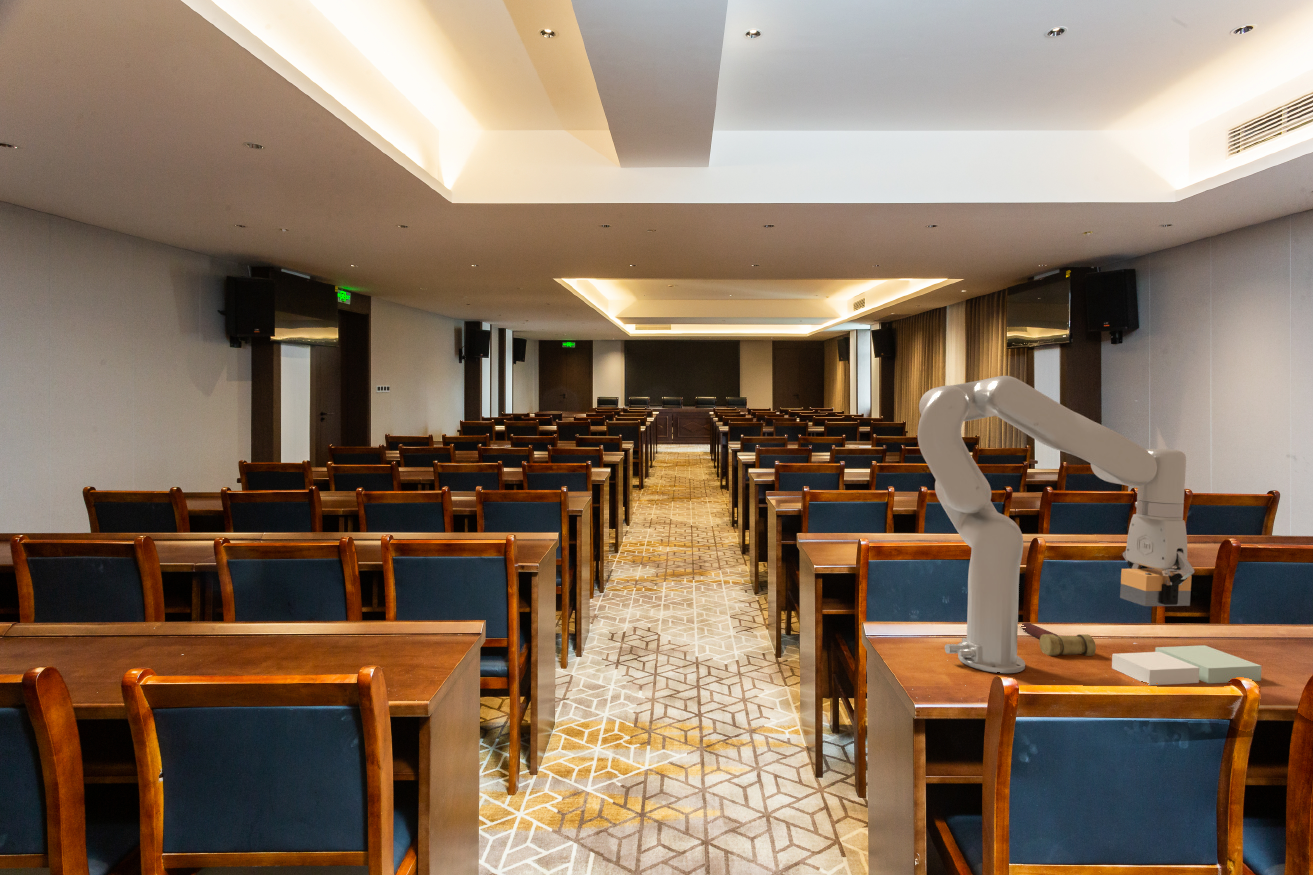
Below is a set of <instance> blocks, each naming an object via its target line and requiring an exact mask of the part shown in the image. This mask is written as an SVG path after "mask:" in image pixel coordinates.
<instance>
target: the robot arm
mask: <svg viewBox="0 0 1313 875" xmlns="http://www.w3.org/2000/svg"><path fill="white" fill-rule="evenodd" d="M918 409H919V410H918V411H919V413H920V418H919V420H918V421H919V422H918V426H917V442H918V447H919V450H920V453H921V456H922V458H923V459H924V461H925V462H926V465H927V467H928V468H929V470H930V472H931V474H932V476H933V477H934V479H935V482H934V491H935V494H936V497H937V499H938V501H939V503H940V504H941V506H942V508H943V510H944V511H945V513H946V515H947V516H948V518H949V519H950V522H951V523H952V524H953V526H954V529H955V530H956V531H957V533H958V534H959V536H960V537H961V539H962V541H963V542H964V543H965V544H966V545H967V546H969V548H971V550H970V551H971V552H970V553H971V554H970V560H969V564H968V576H967V577H968V578H967V614H966V615H967V617H966V618H967V619H966V620H967V622H966V625H967V626H966V637H962V638H961V642H959V643H957V644H955V643H947V644H945V645H944V651H945V653H946V654H948V655H949V654H950V655H951V654H957V655H958V656H957V657H958V660H959V661H960V662H961V663H962V664H964V665H966V666H968V667H971V668H973V669H976V670H980V671H984V672H990V673H996V674H998V673H997V672H1000V673H999V674H1016V673H1019V672H1022V671H1024V670H1025V669H1026V661H1025V660H1024V659H1023V658H1021V657H1020V656H1019V655H1018V627H1019V594H1020V593H1019V592H1020V591H1019V590H1020V589H1019V588H1020V587H1019V586H1020V585H1019V584H1020V571H1021V570H1020V568H1021V564H1022V563H1021V562H1022V559H1023V558H1022V557H1023V551H1024V536H1023V533H1022V531H1021V528H1020V526H1019V525H1018V524H1017V523H1016V522H1015V521H1014V520H1013V519H1011V518H1010V517H1009V516H1008V515H1005V514H1002V513H1000V512H998V511H997V509H996V508H995V506H994V504H993V502H992V501H991V499H992V488H991V485H990V483H989V482H988V481H989V480H987V478H986V476H985V475H984V474H983V472H982V471H981V469H980V467H979V466H978V464H977V463H976V461H975V460H974V458H973V457H972V455H971V454H970V451H969V448H968V447H967V446H966V443H965V441H964V440H963V435H962V428H963V427H962V426H963V424H964V422H968V421H969V422H970V421H975V420H981V419H985V418H992V417H997V418H999V419H1001V420H1003V421H1004V422H1005V423H1007V424H1009V425H1011V426H1012V427H1015V428H1016V429H1017V430H1019V431H1021V432H1023V433H1024V434H1026V435H1028V436H1029V437H1031V439H1034V440H1035V441H1037V442H1038V443H1040V444H1042V445H1044V446H1046V447H1049V448H1051V449H1053V450H1056V451H1060V452H1064V453H1066V454H1070V455H1072V456H1075V457H1077V458H1080V459H1082V460H1083V461H1086V462H1088V463H1090V468H1091V470H1092V472H1093V473H1094V476H1096V477H1097V478H1098V479H1100V480H1103V481H1104V482H1108V483H1111V484H1117V485H1124V486H1128V487H1137V494H1136V495H1137V496H1136V502H1135V503H1134V506H1135V508H1136V513H1134V514H1132V517H1131V520H1130V524H1129V526H1128V527H1129V528H1128V533H1127V538H1126V539H1127V540H1126V548H1125V550H1124V551H1123V552H1122V557H1123V558H1124V560H1125V562H1126V564H1127V566H1128V569H1158V570H1162V573H1163V577H1164V581H1165V584H1162V594H1161V603H1162V604H1164V605H1177V604H1178V591H1179V585H1182V583H1183V581H1185V580H1186V579H1187V577H1189V576H1190V575H1191V576H1192V575H1193V574H1194V573H1195V568H1194V567H1193V566H1192V565H1191V563H1190V561H1189V560H1188V535H1187V526H1186V522H1185V520H1183V519H1184V504H1185V501H1184V500H1185V489H1186V488H1185V484H1186V471H1187V470H1186V468H1187V456H1186V454H1185V452H1183V451H1182V450H1178V449H1167V448H1166V449H1165V448H1164V449H1163V448H1147V449H1145V448H1144V447H1142V446H1141V445H1139V444H1137V443H1135V441H1132V440H1131V439H1129V438H1127V437H1125V436H1124V435H1123V434H1121V433H1118V432H1117V431H1114V430H1112V429H1111V428H1109V427H1107V426H1105V425H1103V424H1100V423H1098V422H1095V421H1094V420H1092V419H1089V418H1088V417H1086V416H1084V415H1082V414H1080V413H1078V412H1076V411H1074V410H1071V409H1070V408H1068V407H1066V406H1064V405H1063V404H1061V403H1059V402H1058V401H1056V400H1054V399H1052V398H1051V397H1049V396H1047V395H1045V394H1044V393H1043V392H1041V391H1039V390H1037V389H1036V388H1033V386H1031V385H1029V384H1027V383H1025V382H1024V381H1022V380H1021V379H1019V378H1016V377H1014V376H1010V375H999V376H994V377H988V378H985V379H981V380H975V381H969V382H964V383H959V384H958V383H957V384H952V385H942V386H937V387H933V388H930V389H929V390H928V391H926V392H925V393H923V395H922V396H921V398H920V401H919V404H918ZM1170 572H1172V574H1173V576H1172V577H1171V575H1170Z"/></svg>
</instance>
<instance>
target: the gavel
mask: <svg viewBox="0 0 1313 875" xmlns="http://www.w3.org/2000/svg"><path fill="white" fill-rule="evenodd" d="M1019 624H1022V625H1024V626H1021V627H1026V628H1023V630H1025V631H1026V632H1027V633H1026V632H1025V633H1026V634H1028V635H1029V636H1032V637H1034V638H1036V639H1039V642H1038V643H1039V648H1040V650H1041V652H1042V653H1043V654H1045V655H1046V656H1052V657H1053V656H1059V655H1061V656H1062V655H1070V656H1071V655H1082V656H1085V657H1088V656H1089V657H1093V656H1094V655H1095V654H1096V651H1097V650H1096V649H1097V644H1096V642H1095V639H1094V638H1093V637H1092V636H1091V635H1090V634H1086V633H1085V634H1083V633H1082V634H1076V635H1058V633H1057V634H1056V633H1053V632H1052V631H1049V630H1047V629H1044V628H1042V627H1041V626H1040V627H1039V626H1037V625H1035V624H1033V623H1031V622H1019ZM1021 627H1020V628H1021ZM1023 630H1022V631H1023Z"/></svg>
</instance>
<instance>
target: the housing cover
mask: <svg viewBox="0 0 1313 875" xmlns="http://www.w3.org/2000/svg"><path fill="white" fill-rule="evenodd" d="M1170 575H1171V577H1172V576H1173V574H1172V572H1170ZM1192 577H1193V576H1192V575H1190V576H1189V577H1187V579H1186V580H1185V581H1183V583H1182V585H1179V591H1192ZM1121 584H1125V585H1128V586H1131V587H1134V588H1138V589H1141V590H1144V591H1162V584H1165V581H1164V577H1163V573H1162V570H1158V569H1154V568H1149V569H1130V568H1121V574H1120V585H1121Z"/></svg>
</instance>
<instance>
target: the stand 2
mask: <svg viewBox="0 0 1313 875" xmlns="http://www.w3.org/2000/svg"><path fill="white" fill-rule="evenodd" d="M1154 652H1161V653H1164V654H1166V655H1169V656H1171V657H1174V658H1176V659H1179V660H1181V661H1184V662H1186V663H1189V664H1191V665H1194V666H1196V667H1199V681H1201V682H1203V683H1205V684H1223V683H1224V684H1225V683H1229V682H1228V681H1230V679H1232V678H1236V677H1244V678H1249V679H1252V680H1254V681H1253V682H1260V681H1262V665H1260V664H1259V663H1258V664H1257V663H1254V662H1253V661H1249V660H1246V659H1243V658H1242V657H1239V656H1235V655H1233V654H1231V653H1226V652H1225V651H1222V650H1218V649H1216V648H1213V647H1210V646H1208V645H1205V644H1204V645H1183V646H1182V645H1181V646H1180V645H1179V646H1162V647H1161V646H1158V647H1157V646H1156V647H1155V650H1154Z"/></svg>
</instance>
